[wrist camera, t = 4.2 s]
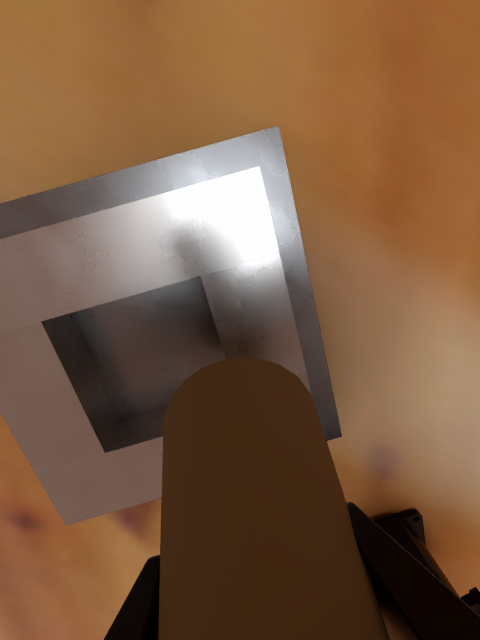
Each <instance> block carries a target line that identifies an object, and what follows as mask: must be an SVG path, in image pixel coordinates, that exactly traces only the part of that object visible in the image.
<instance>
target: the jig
mask: <svg viewBox="0 0 480 640" xmlns="http://www.w3.org/2000/svg"><path fill="white" fill-rule="evenodd" d="M255 357H256V358H259V359H263V360H266V361H270V362H273V363H277V364H280V365H282V366H283V367H284V368H286V369H287V370H289V371H290V372H292V373H293V374H295V375H296V376H298V377H299V378H300V380H301V381H302V382H303V384H304V385H305V386H306V388H307V389H308V391H309V392H310V393H311V395H312V398H313V401H314V404H315V407H316V410H317V413H318V416H319V420H320V423H321V426H322V429H323V432H324V435H325V438H326V441H328V440H332V439H335V438H338V437H342V434H341V430H340V425H339V420H338V415H337V410H336V405H335V400H334V395H333V390H332V385H331V380H330V376H329V371H328V366H327V361H326V356H325V351H324V346H323V341H322V336H321V331H320V327H319V322H318V317H317V312H316V307H315V302H314V297H313V292H312V287H311V282H310V277H309V273H308V268H307V263H306V258H305V253H304V248H303V243H302V238H301V233H300V228H299V223H298V219H297V214H296V209H295V204H294V199H293V194H292V189H291V184H290V179H289V174H288V170H287V165H286V160H285V155H284V150H283V145H282V140H281V135H280V130H279V126H276V127H272V128H268V129H265V130H261V131H258V132H254V133H251V134H247V135H244V136H240V137H236V138H233V139H229V140H226V141H222V142H219V143H215V144H211V145H208V146H204V147H201V148H197V149H194V150H190V151H186V152H183V153H179V154H176V155H172V156H169V157H165V158H162V159H158V160H154V161H151V162H147V163H144V164H140V165H137V166H133V167H129V168H126V169H122V170H119V171H115V172H112V173H108V174H105V175H101V176H97V177H94V178H90V179H87V180H83V181H80V182H76V183H72V184H69V185H65V186H62V187H58V188H55V189H51V190H48V191H44V192H40V193H37V194H33V195H30V196H26V197H23V198H19V199H15V200H12V201H8V202H5V203H1V204H0V413H1V415H2V416H3V418H4V420H5V422H6V423H7V425H8V427H9V428H10V430H11V432H12V434H13V435H14V437H15V439H16V441H17V442H18V444H19V446H20V447H21V449H22V451H23V453H24V454H25V456H26V458H27V459H28V461H29V463H30V465H31V466H32V468H33V470H34V472H35V473H36V475H37V477H38V478H39V480H40V482H41V484H42V485H43V487H44V489H45V490H46V492H47V494H48V496H49V497H50V499H51V501H52V503H53V504H54V506H55V508H56V509H57V511H58V513H59V515H60V516H61V518H62V520H63V521H64V523H65V525H69V524H73V523H76V522H80V521H83V520H87V519H90V518H94V517H97V516H100V515H104V514H107V513H111V512H114V511H118V510H121V509H124V508H128V507H131V506H135V505H138V504H142V503H145V502H149V501H152V500H155V499H159V498H162V459H163V420H164V417H165V414H166V410H167V407H168V404H169V401H170V399H171V397H172V396H173V395H174V393H175V392H176V391H177V389H178V388H179V387H180V385H181V384H182V383H183V381H184V380H186V379H187V378H188V377H190V376H191V375H193V374H194V373H196V372H197V371H199V370H200V369H201V368H203V367H204V366H207V365H210V364H213V363H216V362H219V361H222V360H225V359H228V358H255Z"/></svg>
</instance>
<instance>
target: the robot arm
mask: <svg viewBox="0 0 480 640" xmlns="http://www.w3.org/2000/svg"><path fill="white" fill-rule="evenodd" d="M346 504H347V507H348V511H349V515H350V519H351V524H352V528H353V532H354V536H355V540H356V543H357V546H358V549H359V552H360V554H361V556H362V559H363V561H364V563H365V565H366V568H367V570H368V572H369V576H370V579H371V582H372V585H373V588H374V591H375V594H376V597H377V600H378V604H379V607H380V610H381V613H382V616H383V619H384V622H385V625H386V629H387V632H388V635H389V638H390V640H480V592H479V591H478V589H477V588H476V587H474V588H473V589H471V590H469V593H468V594H466V595H464V596H462V597H461V598H460V597H459V595H458V594H457V593H456V591H455V590H454V588H453V587H452V585H451V584H450V582H449V581H448V579H447V578H446V576H445V575H444V573H443V572H442V570H441V569H440V567H439V566H438V564H437V563H436V561H435V560H434V558H433V557H432V555H431V554H430V552H429V551H428V549H427V548H426V544H425V535H424V527H423V519H422V515H421V514H420V513H419V511H417V510H412V511H408V512H405V513H401V514H398V515H395V516H391V517H388V518H384V519H381V520H378V521H373V520H372V519H371V518H370V517H368V516H367V515H366V514H365V513H364V512H363V511H362V510H361V509H360V508H358V507H357V506H356V505H355V504H354V503H352V502H348V503H346ZM159 588H160V555H157V556H153V557H151V558H149V559H148V560H147V562H146V563H145V565H144V567H143V569H142V571H141V573H140V574H139V576H138V578H137V580H136V582H135V584H134V585H133V587H132V589H131V591H130V593H129V594H128V596H127V598H126V600H125V602H124V604H123V605H122V607H121V609H120V611H119V613H118V614H117V616H116V618H115V620H114V622H113V624H112V625H111V627H110V629H109V631H108V633H107V635H106V636H105V638H104V640H158V631H159Z"/></svg>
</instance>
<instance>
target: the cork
mask: <svg viewBox="0 0 480 640" xmlns="http://www.w3.org/2000/svg"><path fill="white" fill-rule="evenodd" d="M158 640H390V638H389V635H388V632H387V629H386V625H385V622H384V619H383V616H382V613H381V610H380V607H379V604H378V600H377V597H376V594H375V591H374V588H373V585H372V582H371V579H370V576H369V572H368V570H367V568H366V565H365V563H364V561H363V559H362V556H361V554H360V552H359V549H358V546H357V543H356V540H355V536H354V532H353V528H352V524H351V519H350V515H349V511H348V507H347V504H346V501H345V498H344V494H343V491H342V488H341V485H340V482H339V479H338V476H337V473H336V469H335V466H334V463H333V460H332V457H331V454H330V451H329V448H328V445H327V441H326V438H325V435H324V432H323V429H322V426H321V423H320V420H319V416H318V413H317V410H316V407H315V404H314V401H313V398H312V395H311V393H310V392H309V391H308V389H307V388H306V386H305V385H304V384H303V382H302V381H301V380H300V378H299V377H298V376H296V375H295V374H293V373H292V372H290V371H289V370H287V369H286V368H284V367H283V366H282V365H280V364H277V363H273V362H270V361H266V360H263V359H259V358H256V357H255V358H228V359H225V360H222V361H219V362H216V363H213V364H210V365H207V366H204V367H203V368H201V369H200V370H199V371H197V372H196V373H194V374H193V375H191V376H190V377H188V378H187V379H186V380H184V381H183V383H182V384H181V385H180V387H179V388H178V389H177V391H176V392H175V393H174V395H173V396H172V397H171V399H170V401H169V404H168V407H167V410H166V414H165V417H164V420H163V459H162V502H161V545H160V588H159V631H158Z"/></svg>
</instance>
